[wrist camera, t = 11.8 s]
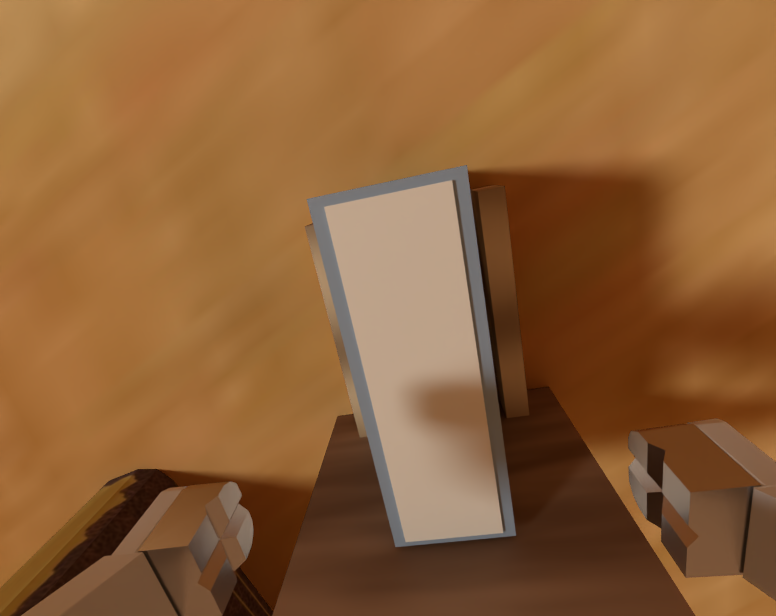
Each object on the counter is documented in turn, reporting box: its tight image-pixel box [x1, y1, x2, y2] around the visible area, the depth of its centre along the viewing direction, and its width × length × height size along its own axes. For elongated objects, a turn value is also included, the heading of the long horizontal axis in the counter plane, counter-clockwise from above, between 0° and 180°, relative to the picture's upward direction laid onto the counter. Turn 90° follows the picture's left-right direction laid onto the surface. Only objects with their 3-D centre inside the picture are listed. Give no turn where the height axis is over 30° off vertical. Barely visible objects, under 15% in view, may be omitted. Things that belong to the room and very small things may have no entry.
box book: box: [307, 165, 516, 547], centre depth 17 cm, size 13×4×10 cm, turn 11°
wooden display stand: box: [272, 185, 695, 616], centre depth 16 cm, size 14×13×14 cm
